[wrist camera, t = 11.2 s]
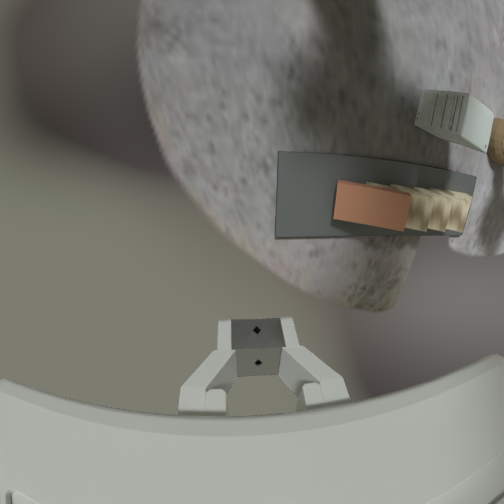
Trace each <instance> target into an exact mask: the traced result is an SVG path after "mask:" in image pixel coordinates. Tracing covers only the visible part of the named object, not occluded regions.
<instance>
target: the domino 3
mask: <svg viewBox="0 0 504 504" xmlns="http://www.w3.org/2000/svg"><path fill="white" fill-rule="evenodd" d="M390 186H392V187H397V188H402V189H407V190H411V191H416V192H420V193H424V194H428V195H432V196H433V198H434V204H433V208H432V212H431V216H430V220H429V224H428V228H429V229H433V230H438V231H442V232H445V230H446V226H447V223H448V219H449V215H450V211H451V207H452V203H453V200H452V199H451V198H450V197H446V196H443V195H439V194H435V193H431V192H426V191H422V190H418V189H414V188H409V187H404V186H400V185H395V184H390Z"/></svg>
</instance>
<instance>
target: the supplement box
mask: <svg viewBox="0 0 504 504" xmlns="http://www.w3.org/2000/svg"><path fill="white" fill-rule="evenodd" d="M493 118H494V113H492V112H491V111H490V110H489V109H488V108H487V107H486V106H484V105H483V104H482V103H481V102H480V101H478V100H477V99H476V98H475V97H474V96H472V95H471V94H470V93H461V92H452V91H439V90H421V94H420V99H419V104H418V109H417V114H416V118H415V123H414V125H415V126H417V127H419V128H421V129H423V130H425V131H427V132H429V133H431V134H432V135H434V136H436V137H438V138H440V139H444V140H447V141H450V142H454V143H457V144H460V145H463V146H466V147H469V148H472V149H474V150H477V151H480V152H483V153H485V154H486V152H487V149H488V145H489V140H490V135H491V130H492V124H493Z"/></svg>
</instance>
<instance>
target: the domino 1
mask: <svg viewBox="0 0 504 504" xmlns="http://www.w3.org/2000/svg"><path fill="white" fill-rule="evenodd" d="M411 198H412V196H411V195H410V193H407V192H403V191H398V190H393V189H388V188H383V187H378V186H373V185H367V184H361V183H355V182H349V181H343V180H338V184H337V193H336V201H335V209H334V217H333V219H337V220H343V221H349V222H355V223H360V224H366V225H371V226H377V227H382V228H387V229H392V230H397V231H403V232H404V230H405V225H406V221H407V217H408V212H409V208H410V203H411Z"/></svg>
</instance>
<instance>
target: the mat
mask: <svg viewBox="0 0 504 504" xmlns="http://www.w3.org/2000/svg"><path fill="white" fill-rule="evenodd" d="M476 178H477V177H475V176H472V175H468V174H463V173H459V172H454V171H450V170H445V169H440V168H435V167H430V166H424V165H419V164H413V163H406V162H400V161H393V160H386V159H378V158H370V157H361V156H350V155H339V154H326V153H309V152H284V151H278V168H277V195H276V219H275V237H306V236H380V235H462V234H463V232H458V231H453V230H449V229H446V230H445V232H442V231H438V230H433V229H429V228H427V232H424V231H419V230H414V229H410V228H405V230H404V232H403V231H397V230H392V229H387V228H382V227H377V226H371V225H366V224H360V223H355V222H349V221H343V220H337V219H333V217H334V209H335V201H336V193H337V184H338V180H343V181H349V182H355V183H361V184H366V182H371V183H377V184H382V185H387V186H390V184H395V185H400V186H404V187H409V188H413V186H415V187H419V188H424V189H428V190H429V188H434V189H441V190H448V191H455V192H461V193H467V194H468V195H470V196H472V197H473V192H474V188H475V183H476ZM471 201H472V200H471ZM470 205H471V204H470ZM469 209H470V208H469ZM468 213H469V212H468ZM467 217H468V216H467ZM466 220H467V219H466ZM465 224H466V223H465ZM464 227H465V225H464ZM463 231H464V228H463Z"/></svg>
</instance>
